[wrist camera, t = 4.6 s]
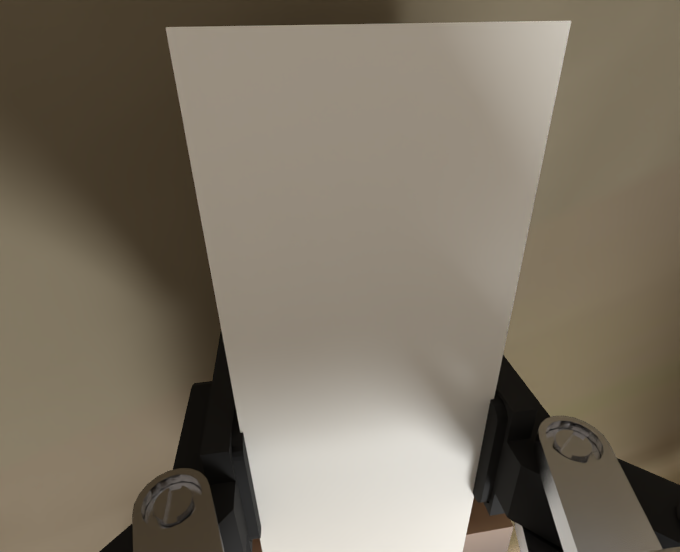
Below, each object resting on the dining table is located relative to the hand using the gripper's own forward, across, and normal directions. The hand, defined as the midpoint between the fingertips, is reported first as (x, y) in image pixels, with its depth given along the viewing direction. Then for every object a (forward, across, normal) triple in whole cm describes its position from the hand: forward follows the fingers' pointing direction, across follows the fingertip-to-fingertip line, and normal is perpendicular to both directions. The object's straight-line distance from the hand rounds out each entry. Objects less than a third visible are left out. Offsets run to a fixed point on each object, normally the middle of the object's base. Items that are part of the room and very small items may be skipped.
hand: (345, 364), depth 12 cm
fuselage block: (+1, 0, 0) cm, 1 cm away
